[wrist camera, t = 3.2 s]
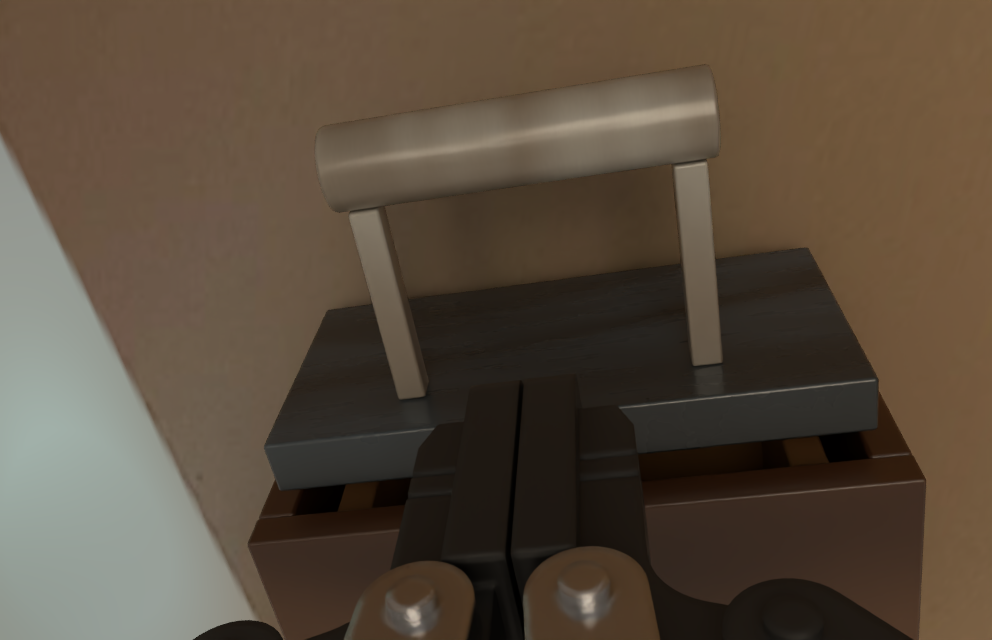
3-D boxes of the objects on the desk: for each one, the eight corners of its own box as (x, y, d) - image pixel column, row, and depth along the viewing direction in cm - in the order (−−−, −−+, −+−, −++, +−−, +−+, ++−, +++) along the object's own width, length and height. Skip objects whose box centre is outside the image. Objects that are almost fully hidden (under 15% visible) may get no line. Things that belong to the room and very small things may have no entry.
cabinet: (328, 350, 26) (245, 544, 19) (826, 288, 24) (927, 479, 17) (424, 660, 31) (385, 893, 25) (831, 629, 29) (908, 873, 23)
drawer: (258, 84, 21) (162, 174, 16) (802, -8, 19) (885, 61, 14) (419, 619, 29) (388, 792, 24) (816, 587, 27) (873, 766, 22)
